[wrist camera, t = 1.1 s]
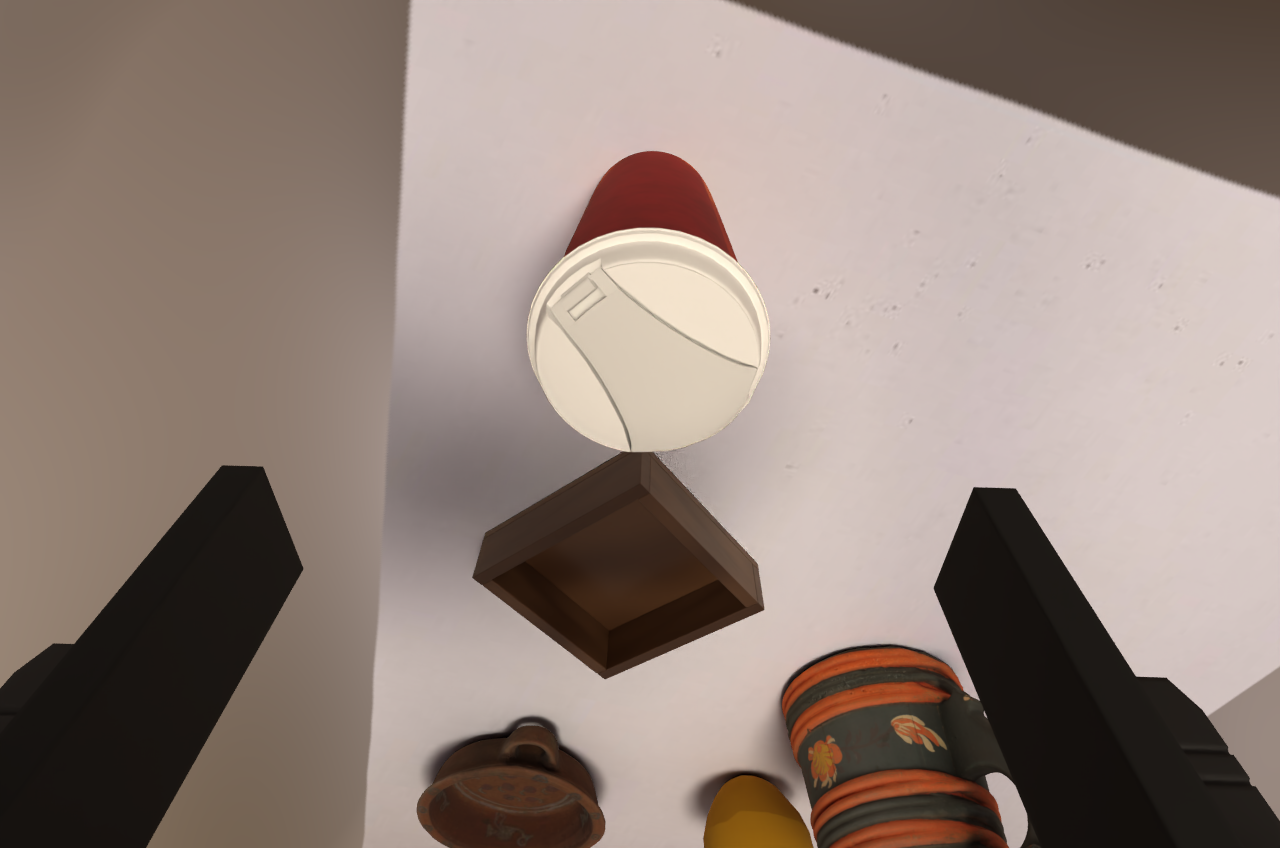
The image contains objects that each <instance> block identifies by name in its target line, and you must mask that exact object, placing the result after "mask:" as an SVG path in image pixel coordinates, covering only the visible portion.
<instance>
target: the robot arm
mask: <svg viewBox="0 0 1280 848" xmlns="http://www.w3.org/2000/svg"><path fill="white" fill-rule="evenodd" d="M302 571H303V566H302V564H301V561H300V559H299V556H298V554H297V551H296V549H295V546H294V544H293V541H292V539H291V536H290V533H289V531H288V528H287V526H286V523H285V521H284V518H283V516H282V513H281V511H280V508H279V506H278V503H277V501H276V498H275V496H274V493H273V491H272V488H271V486H270V483H269V481H268V478H267V476H266V473H265V470H264V468H263V467H256V466H221V467H220V469H219V470H218V471H217V472H216V473H215V475H214V476H213V477H212V478H211V480H210V481H209V482H208V483H207V484H206V486H205V487H204V488H203V489H202V490H201V492H200V493H199V494H198V495H197V496H196V498H195V499H194V500H193V501H192V502H191V504H190V505H189V506H188V507H187V509H186V510H185V511H184V512H183V513H182V515H181V516H180V517H179V518H178V520H177V521H176V522H175V523H174V524H173V525H172V527H171V528H170V529H169V530H168V532H167V533H166V534H165V535H164V536H163V537H162V539H161V540H160V541H159V542H158V543H157V545H156V546H155V547H154V548H153V550H152V551H151V552H150V553H149V554H148V556H147V557H146V558H145V559H144V560H143V562H142V563H141V564H140V565H139V566H138V568H137V569H136V570H135V571H134V573H133V574H132V575H131V576H130V577H129V579H128V580H127V581H126V582H125V583H124V585H123V586H122V587H121V588H120V589H119V591H118V592H117V593H116V594H115V596H114V597H113V598H112V599H111V600H110V601H109V603H108V604H107V605H106V606H105V607H104V609H103V610H102V611H101V612H100V614H99V615H98V616H97V617H96V618H95V620H94V621H93V622H92V623H91V624H90V626H89V627H88V628H87V629H86V630H85V632H84V633H83V634H82V635H81V636H80V638H79V639H78V640H77V641H76V643H75V644H52V645H51V646H50V647H48V648H47V649H45V650H44V651H43V652H41V653H40V654H39V655H37V656H36V657H35V658H33V659H32V660H31V661H29V662H28V663H27V664H25V665H24V666H23V667H21V668H20V669H19V670H17V671H16V672H14V674H13V675H12V676H11V677H10V678H9V679H8V680H7V681H6V683H5V684H4V685H3V686H2V687H1V688H0V848H146V847H147V845H148V843H149V841H150V840H151V838H152V836H153V834H154V833H155V831H156V829H157V827H158V825H159V824H160V822H161V820H162V818H163V817H164V815H165V813H166V811H167V810H168V808H169V806H170V804H171V802H172V801H173V799H174V797H175V795H176V794H177V792H178V790H179V788H180V787H181V785H182V783H183V781H184V779H185V778H186V776H187V774H188V772H189V770H190V769H191V767H192V765H193V764H194V762H195V760H196V758H197V756H198V755H199V753H200V751H201V749H202V747H203V746H204V744H205V742H206V741H207V739H208V737H209V735H210V733H211V732H212V730H213V728H214V726H215V725H216V723H217V721H218V719H219V717H220V716H221V714H222V712H223V710H224V709H225V707H226V705H227V703H228V702H229V700H230V698H231V696H232V694H233V693H234V691H235V689H236V687H237V686H238V684H239V682H240V680H241V679H242V677H243V675H244V673H245V671H246V670H247V668H248V666H249V664H250V663H251V661H252V659H253V657H254V655H255V654H256V652H257V650H258V648H259V646H260V645H261V643H262V641H263V640H264V638H265V636H266V634H267V632H268V631H269V629H270V627H271V625H272V624H273V622H274V620H275V618H276V617H277V615H278V613H279V611H280V609H281V608H282V606H283V604H284V602H285V601H286V599H287V597H288V595H289V594H290V592H291V590H292V588H293V586H294V585H295V583H296V581H297V579H298V578H299V576H300V574H301V572H302ZM934 591H935V593H936V595H937V598H938V600H939V603H940V605H941V607H942V610H943V612H944V615H945V617H946V619H947V622H948V624H949V627H950V629H951V631H952V634H953V636H954V639H955V641H956V644H957V646H958V648H959V651H960V653H961V656H962V658H963V660H964V663H965V665H966V668H967V670H968V672H969V675H970V677H971V680H972V682H973V684H974V687H975V689H976V692H977V694H978V696H979V699H980V701H981V704H982V706H983V709H984V711H985V713H986V716H987V718H988V721H989V723H990V725H991V728H992V730H993V733H994V735H995V737H996V740H997V742H998V745H999V747H1000V749H1001V752H1002V754H1003V757H1004V759H1005V761H1006V764H1007V766H1008V769H1009V771H1010V774H1011V776H1012V778H1013V781H1014V783H1015V786H1016V788H1017V790H1018V793H1019V795H1020V798H1021V800H1022V802H1023V805H1024V807H1025V810H1026V812H1027V814H1028V817H1029V819H1030V822H1031V824H1032V826H1033V829H1034V831H1035V834H1036V836H1037V839H1038V841H1039V843H1040V846H1041V848H1280V821H1279V819H1278V818H1277V817H1276V815H1275V814H1274V812H1273V811H1272V809H1271V808H1270V806H1269V805H1268V804H1267V802H1266V801H1265V799H1264V798H1263V796H1262V795H1261V794H1260V792H1259V791H1258V789H1257V788H1256V787H1255V786H1252V785H1251V784H1250V782H1249V779H1250V778H1249V776H1248V775H1247V773H1246V772H1245V771H1244V769H1243V768H1242V766H1241V765H1240V763H1239V762H1238V761H1237V759H1236V758H1235V757H1234V755H1230V754H1229V752H1228V746H1227V745H1226V743H1225V742H1224V741H1223V739H1222V738H1221V736H1220V735H1219V733H1218V732H1217V730H1216V729H1215V728H1214V726H1213V725H1212V723H1211V722H1210V720H1209V719H1208V717H1207V716H1206V715H1205V713H1204V712H1203V710H1202V709H1201V708H1199V707H1198V706H1197V705H1196V704H1195V703H1194V702H1193V701H1192V700H1190V699H1189V698H1188V697H1187V696H1186V695H1185V694H1184V693H1183V692H1182V691H1180V690H1179V689H1178V688H1177V687H1176V686H1175V685H1174V684H1173V683H1171V682H1170V681H1169V680H1168V679H1167V678H1158V677H1136V676H1135V675H1134V673H1133V671H1132V670H1131V668H1130V667H1129V665H1128V664H1127V662H1126V660H1125V659H1124V657H1123V656H1122V654H1121V653H1120V651H1119V649H1118V648H1117V646H1116V645H1115V643H1114V642H1113V640H1112V638H1111V637H1110V635H1109V634H1108V632H1107V631H1106V629H1105V628H1104V626H1103V624H1102V623H1101V621H1100V620H1099V618H1098V617H1097V615H1096V613H1095V612H1094V610H1093V609H1092V607H1091V606H1090V604H1089V602H1088V601H1087V599H1086V598H1085V596H1084V595H1083V593H1082V591H1081V590H1080V588H1079V587H1078V585H1077V584H1076V582H1075V581H1074V579H1073V577H1072V576H1071V574H1070V573H1069V571H1068V570H1067V568H1066V566H1065V565H1064V563H1063V562H1062V560H1061V559H1060V557H1059V555H1058V554H1057V552H1056V551H1055V549H1054V548H1053V546H1052V545H1051V543H1050V541H1049V540H1048V538H1047V537H1046V535H1045V534H1044V532H1043V530H1042V529H1041V527H1040V526H1039V524H1038V523H1037V521H1036V519H1035V518H1034V516H1033V515H1032V513H1031V512H1030V510H1029V508H1028V507H1027V505H1026V504H1025V502H1024V501H1023V499H1022V498H1021V496H1020V494H1019V493H1018V491H1017V490H1016V489H1014V488H979V487H974V488H973V490H972V493H971V495H970V498H969V501H968V503H967V506H966V508H965V511H964V513H963V516H962V518H961V521H960V523H959V526H958V528H957V531H956V533H955V536H954V538H953V541H952V543H951V546H950V548H949V551H948V553H947V556H946V558H945V561H944V563H943V566H942V568H941V571H940V573H939V576H938V578H937V581H936V583H935V586H934Z"/></svg>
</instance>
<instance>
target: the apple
mask: <svg viewBox="0 0 1280 848" xmlns="http://www.w3.org/2000/svg"><path fill="white" fill-rule="evenodd" d="M703 840H704V848H813V844H812V841H811V837H810V833H809V830H808V829H807V827H806V825H805V823H804V821H803V819H802V817H801V815H800V814H799V812H798V811H797V810H796V809H795V808H794V807H793V805H792V804H791V803H790V802H789V801H788V800H787V799H786V798H785V796H784V795H783V794H782V793H781V792H780V791H779V790H778V788H777V787H776V786H775V785H773V784H771V783H770V782H768V781H766V780H764V779H762V778H758V777H755V776H747V775H741V776H738V777H736V778H733V779H731V780H729V781H727V782H726V783H725V784H724V785H723V786H722V787H721V789H720V790H719V792H718V793H717V795H716V796H715V798H714V800H713V803H712V805H711V808H710V810H709V813H708V815H707V821H706V826H705V832H704V838H703Z"/></svg>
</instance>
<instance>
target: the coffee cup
mask: <svg viewBox="0 0 1280 848" xmlns="http://www.w3.org/2000/svg"><path fill="white" fill-rule="evenodd" d="M527 346H528V354H529V358H530V361H531V364H532V368H533V371H534V373H535V375H536V377H537V379H538V381H539V383H540V385H541V387H542V389H543V391H544V393H545V395H546V397H547V399H548V401H549V402H550V403H551V405H552V406H553V408H554V409H555V411H556V412H557V413H558V414H559V415H560V416H561V417H562V418H563V419H564V420H565V421H566V422H567V423H568V424H569V425H570V426H571V427H573V428H574V429H575V430H576V431H578V432H579V433H580V434H582V435H584V436H586V437H587V438H589V439H591V440H593V441H594V442H597V443H599V444H602V445H604V446H607V447H610V448H613V449H617V450H621V451H626V452H631V451H632V452H657V451H670V450H674V449H679V448H684V447H687V446H689V445H692V444H694V443H697V442H700V441H703V440H705V439H707V438H709V437H711V436H713V435H714V434H716V433H718V432H719V431H721V430H722V429H724V428H725V427H726V426H728V425H729V424H730V423H731V422H732V421H733V420H734V419H735V418H736V417H737V415H738V414H739V412H740V411H741V410H742V409H743V408H744V407H745V406H746V405H747V404H748V403H749V401H750V399H751V397H752V395H753V392H754V390H755V388H756V386H757V384H758V382H759V380H760V378H761V376H762V374H763V372H764V369H765V365H766V362H767V359H768V355H769V347H770V324H769V319H768V314H767V310H766V306H765V303H764V301H763V299H762V296H761V294H760V292H759V290H758V288H757V286H756V285H755V283H754V282H753V280H752V279H751V277H750V276H749V274H748V273H747V272H746V271H745V270H744V269H743V268H742V267H741V265H740V264H739V263H738V262H737V259H736V256H735V254H734V251H733V249H732V246H731V243H730V241H729V238H728V236H727V233H726V231H725V228H724V225H723V223H722V220H721V218H720V215H719V213H718V210H717V208H716V205H715V203H714V201H713V198H712V196H711V194H710V192H709V189H708V187H707V185H706V184H705V182H704V180H703V179H702V177H701V176H700V175H699V173H698V172H697V171H696V170H695V169H694V168H693V167H692V166H691V165H690V164H688V163H687V162H686V161H684V160H682V159H681V158H679V157H677V156H674V155H672V154H669V153H665V152H658V151H647V152H640V153H636V154H633V155H630V156H628V157H626V158H624V159H622V160H621V161H619V162H618V163H616V164H615V165H614V166H613V167H611V168H610V169H609V170H608V172H607V173H606V174H605V175H604V177H603V178H602V179H601V181H600V182H599V184H598V186H597V188H596V189H595V191H594V193H593V195H592V197H591V199H590V201H589V203H588V205H587V208H586V210H585V212H584V214H583V216H582V218H581V220H580V223H579V225H578V227H577V229H576V231H575V233H574V235H573V238H572V240H571V242H570V244H569V246H568V248H567V250H566V253H565V255H564V257H563V258H562V259H561V260H560V261H559V262H558V263H557V264H556V265H555V266H554V267H553V268H552V269H551V271H550V272H549V273H548V275H547V276H546V278H545V279H544V280H543V282H542V283H541V285H540V286H539V288H538V291H537V293H536V295H535V297H534V299H533V302H532V305H531V309H530V313H529V317H528V322H527Z"/></svg>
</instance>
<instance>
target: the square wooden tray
mask: <svg viewBox="0 0 1280 848" xmlns="http://www.w3.org/2000/svg"><path fill="white" fill-rule="evenodd" d="M758 570H759V569H758V564H757V563H756V562H755V561H754V560H753V559H752V558H751V556H750V555H749V554H748V553H747V552H746V551H745V550H744V549H743V548H742V547H741V546H740V545H739V544H738V543H737V542H736V540H735V539H734V538H733V537H732V536H731V535H730V534H729V533H728V532H727V531H726V530H725V529H724V528H723V527H722V526H721V525H720V523H719V522H718V521H717V520H716V519H715V518H714V517H713V516H712V515H711V514H710V513H709V512H708V511H707V510H706V509H705V508H704V506H703V505H702V504H701V503H700V502H699V501H698V500H697V499H696V498H695V497H694V496H693V495H692V494H691V493H690V492H689V490H688V489H687V488H686V487H685V486H684V485H683V484H682V483H681V482H680V481H679V480H678V479H677V478H676V477H675V476H674V475H673V473H672V472H671V471H670V470H669V469H668V468H667V467H666V466H665V465H664V464H663V463H662V462H661V461H660V460H659V459H658V457H657V456H656V455H655V454H654V453H653V452H632V451H631V452H626V451H624V452H622V453H621V454H619V455H617V456H616V457H614V458H612V459H610V460H609V461H607V462H605V463H604V464H602V465H600V466H599V467H597V468H595V469H593V470H592V471H590V472H588V473H587V474H585V475H583V476H582V477H580V478H578V479H576V480H575V481H573V482H571V483H570V484H568V485H566V486H565V487H563V488H561V489H559V490H558V491H556V492H554V493H553V494H551V495H549V496H548V497H546V498H544V499H542V500H541V501H539V502H537V503H536V504H534V505H532V506H531V507H529V508H527V509H526V510H524V511H522V512H520V513H519V514H517V515H515V516H514V517H512V518H510V519H509V520H507V521H505V522H503V523H502V524H500V525H498V526H497V527H495V528H493V529H492V530H490V531H488V532H486V533H485V536H484V540H483V543H482V546H481V550H480V553H479V557H478V560H477V563H476V567H475V570H474V574H473V577H472V578H473V579H475V580H476V581H477V582H478V583H480V584H481V585H483V586H484V587H485V588H487V589H488V590H489V591H491V592H492V593H493V594H494V595H496V596H497V597H498V598H500V599H501V600H502V601H504V602H505V603H506V604H507V605H509V606H510V607H511V608H513V609H514V610H515V611H517V612H518V613H519V614H520V615H522V616H523V617H524V618H526V619H527V620H528V621H530V622H531V623H532V624H533V625H535V626H536V627H537V628H539V629H540V630H541V631H543V632H544V633H545V634H546V635H548V636H549V637H550V638H552V639H553V640H554V641H556V642H557V643H558V644H560V645H561V646H562V647H563V648H565V649H566V650H567V651H569V652H570V653H571V654H573V655H574V656H575V657H576V658H578V659H579V660H580V661H582V662H583V663H584V664H586V665H587V666H588V667H589V668H591V669H592V670H593V671H595V672H596V673H598V674H599V675H600V676H601V677H602V678H604V679H607V678H609V677H612V676H614V675H616V674H619V673H621V672H623V671H625V670H628V669H630V668H632V667H635V666H637V665H639V664H642V663H644V662H646V661H648V660H651V659H653V658H655V657H658V656H660V655H662V654H664V653H667V652H669V651H671V650H674V649H676V648H678V647H680V646H683V645H685V644H687V643H690V642H692V641H694V640H696V639H699V638H701V637H703V636H706V635H708V634H710V633H713V632H715V631H717V630H719V629H722V628H724V627H726V626H729V625H731V624H733V623H735V622H738V621H740V620H742V619H745V618H747V617H749V616H751V615H754V614H756V613H758V612H761V611H763V610H764V603H763V596H762V590H761V583H760V577H759V571H758Z"/></svg>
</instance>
